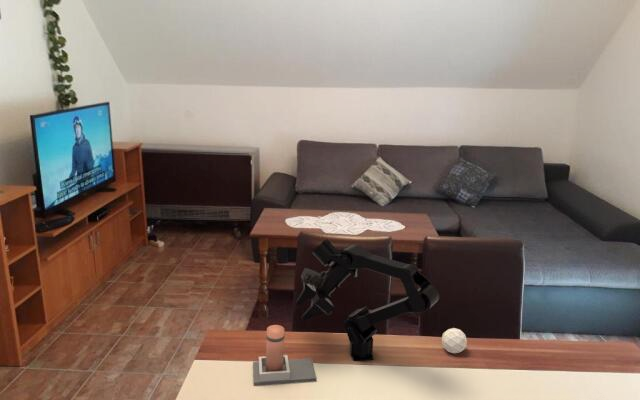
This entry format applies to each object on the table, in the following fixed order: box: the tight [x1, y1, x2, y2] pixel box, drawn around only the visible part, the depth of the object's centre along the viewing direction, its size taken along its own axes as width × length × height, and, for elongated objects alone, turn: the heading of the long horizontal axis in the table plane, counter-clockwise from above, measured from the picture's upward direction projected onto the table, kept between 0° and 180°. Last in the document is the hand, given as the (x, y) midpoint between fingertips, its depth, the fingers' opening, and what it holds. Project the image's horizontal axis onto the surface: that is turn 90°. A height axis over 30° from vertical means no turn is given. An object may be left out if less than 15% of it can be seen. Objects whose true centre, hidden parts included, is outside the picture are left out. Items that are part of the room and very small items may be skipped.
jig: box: [252, 354, 317, 387], centre depth 149 cm, size 18×10×4 cm, turn 98°
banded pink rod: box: [265, 324, 285, 372], centre depth 147 cm, size 5×5×14 cm
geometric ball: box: [441, 327, 468, 354], centre depth 162 cm, size 8×8×8 cm
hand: (299, 311), depth 158 cm, fingers open, 9 cm apart
